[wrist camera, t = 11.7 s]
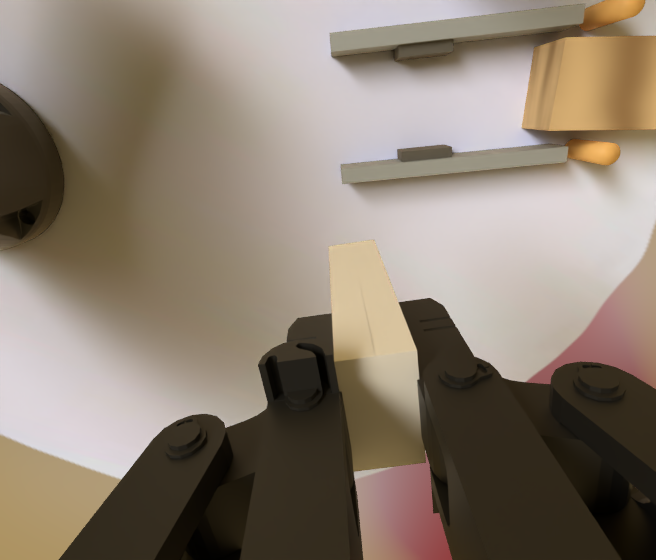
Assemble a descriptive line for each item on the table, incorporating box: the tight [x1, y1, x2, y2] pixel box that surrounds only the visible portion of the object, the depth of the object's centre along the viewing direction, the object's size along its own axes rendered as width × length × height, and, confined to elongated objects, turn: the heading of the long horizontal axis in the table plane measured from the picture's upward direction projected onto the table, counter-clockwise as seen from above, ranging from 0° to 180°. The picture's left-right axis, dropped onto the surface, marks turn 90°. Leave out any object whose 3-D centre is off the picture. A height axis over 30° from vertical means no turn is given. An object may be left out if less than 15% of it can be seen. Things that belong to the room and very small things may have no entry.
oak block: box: [522, 36, 656, 131], centre depth 31 cm, size 9×6×5 cm, turn 91°
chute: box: [330, 0, 645, 184], centre depth 32 cm, size 21×11×5 cm, turn 96°
